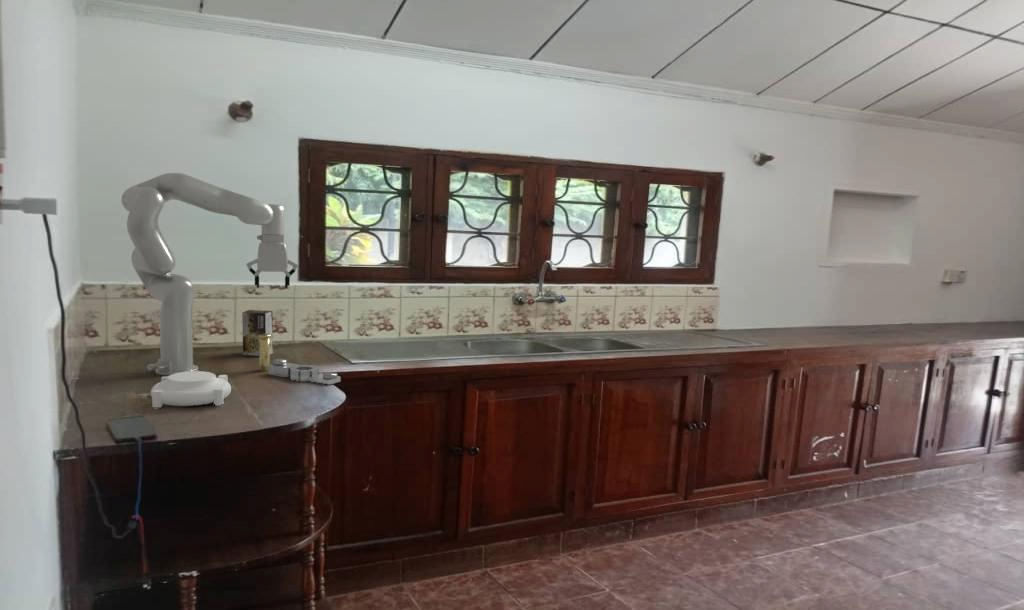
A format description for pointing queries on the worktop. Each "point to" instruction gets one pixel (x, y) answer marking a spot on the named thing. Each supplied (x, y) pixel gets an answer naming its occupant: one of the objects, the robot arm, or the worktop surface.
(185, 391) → the round stand with pegs
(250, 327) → the coffee box
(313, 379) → the link
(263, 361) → the pin
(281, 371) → the link
